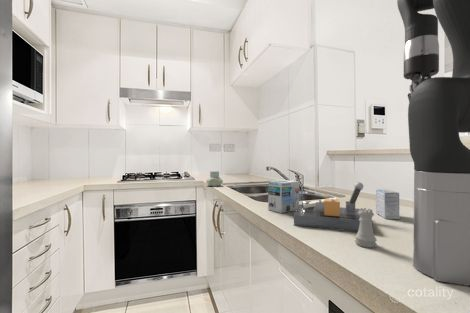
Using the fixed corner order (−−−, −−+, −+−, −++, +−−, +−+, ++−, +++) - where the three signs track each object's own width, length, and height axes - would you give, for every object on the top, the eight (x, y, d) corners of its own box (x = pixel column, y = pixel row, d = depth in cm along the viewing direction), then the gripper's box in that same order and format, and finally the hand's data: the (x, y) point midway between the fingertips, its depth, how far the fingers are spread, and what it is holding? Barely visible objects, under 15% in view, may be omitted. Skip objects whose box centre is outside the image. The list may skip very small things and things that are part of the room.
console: (372, 233, 64) (372, 210, 64) (293, 225, 71) (294, 204, 71) (363, 218, 80) (363, 199, 80) (299, 212, 86) (299, 195, 87)
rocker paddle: (338, 202, 73) (336, 198, 73) (304, 208, 76) (303, 204, 76) (337, 200, 77) (336, 196, 77) (305, 206, 80) (304, 201, 80)
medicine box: (399, 220, 78) (400, 192, 78) (384, 219, 79) (384, 192, 79) (389, 214, 86) (389, 189, 86) (375, 213, 87) (375, 189, 87)
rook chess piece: (365, 249, 53) (365, 211, 53) (350, 242, 57) (350, 207, 57) (381, 247, 54) (382, 210, 54) (365, 240, 58) (366, 206, 58)
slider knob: (339, 216, 68) (339, 200, 68) (324, 215, 70) (324, 199, 70) (338, 213, 72) (339, 197, 72) (324, 212, 73) (324, 196, 73)
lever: (354, 211, 77) (365, 184, 76) (345, 207, 78) (356, 181, 77) (353, 209, 80) (364, 183, 78) (344, 206, 80) (355, 180, 79)
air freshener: (222, 185, 168) (222, 170, 168) (222, 186, 160) (223, 171, 160) (206, 185, 168) (206, 170, 168) (206, 186, 159) (206, 171, 159)
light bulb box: (281, 213, 85) (281, 182, 85) (267, 210, 91) (267, 181, 91) (300, 209, 92) (300, 180, 92) (285, 206, 97) (286, 179, 97)
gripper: (397, 68, 73) (396, 126, 73) (412, 49, 60) (411, 120, 60) (427, 65, 70) (427, 125, 70) (450, 45, 58) (449, 118, 58)
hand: (420, 123), depth 65 cm, fingers closed
